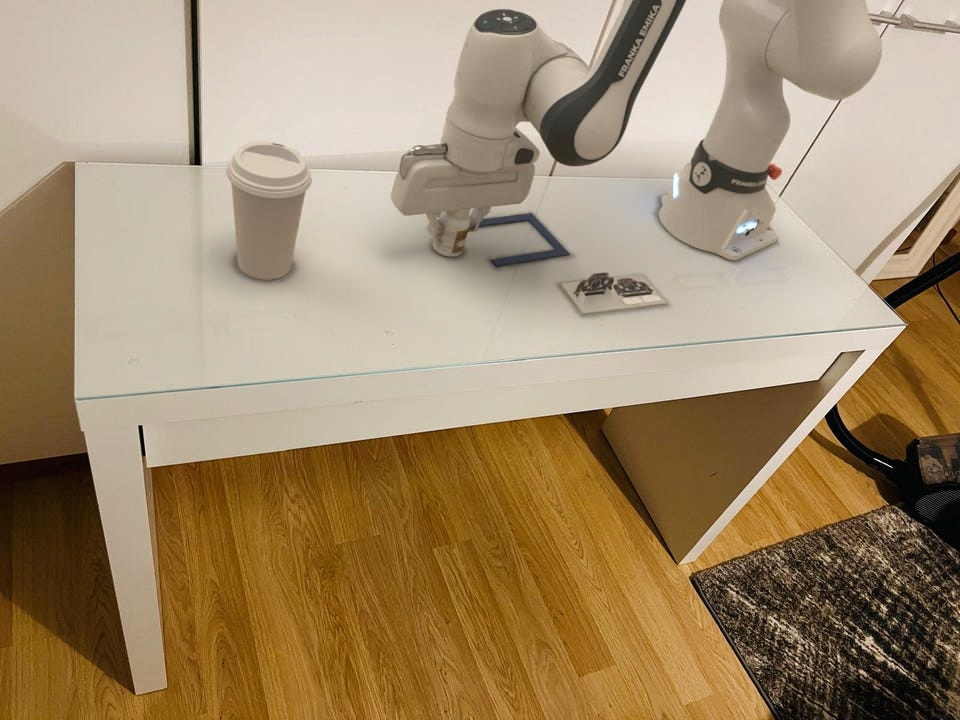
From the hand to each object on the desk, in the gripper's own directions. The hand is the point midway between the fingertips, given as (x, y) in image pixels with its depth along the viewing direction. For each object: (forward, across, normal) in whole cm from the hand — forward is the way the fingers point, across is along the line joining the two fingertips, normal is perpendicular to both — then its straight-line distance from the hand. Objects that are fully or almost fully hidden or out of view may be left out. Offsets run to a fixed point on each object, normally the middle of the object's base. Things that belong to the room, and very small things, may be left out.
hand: (452, 231), depth 107 cm
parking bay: (+3, +11, 0) cm, 11 cm away
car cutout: (+3, +20, -16) cm, 25 cm away
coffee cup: (+3, -26, +2) cm, 26 cm away
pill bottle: (+3, 0, 0) cm, 3 cm away
